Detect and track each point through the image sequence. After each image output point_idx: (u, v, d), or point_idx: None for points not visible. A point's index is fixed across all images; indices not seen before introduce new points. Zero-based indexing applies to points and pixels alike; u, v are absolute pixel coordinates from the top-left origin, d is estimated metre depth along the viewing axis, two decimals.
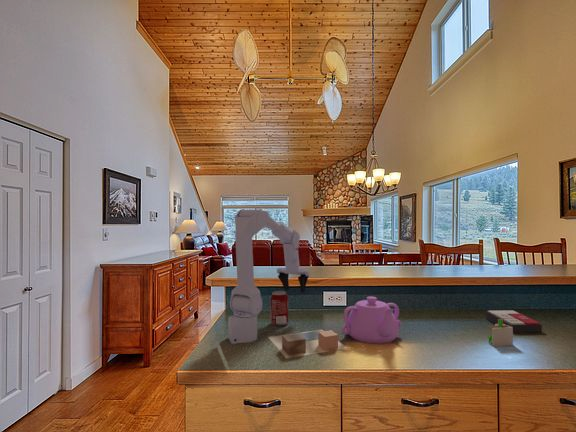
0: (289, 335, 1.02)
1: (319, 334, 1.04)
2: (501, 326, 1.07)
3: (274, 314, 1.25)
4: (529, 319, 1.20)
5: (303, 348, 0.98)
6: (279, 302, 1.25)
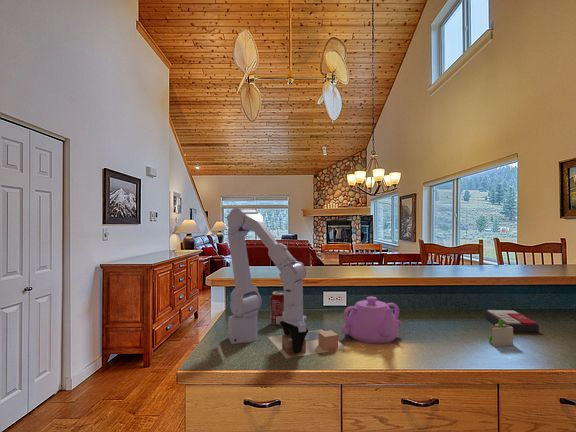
0: (289, 335, 1.02)
1: (319, 334, 1.04)
2: (501, 326, 1.07)
3: (274, 314, 1.25)
4: (527, 319, 1.20)
5: (303, 348, 0.98)
6: (278, 302, 1.25)
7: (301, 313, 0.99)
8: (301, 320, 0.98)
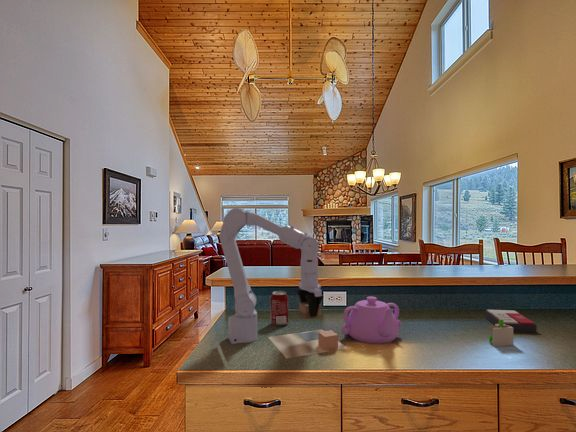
0: (305, 302, 1.12)
1: (319, 334, 1.04)
2: (502, 326, 1.07)
3: (274, 314, 1.25)
4: (525, 319, 1.20)
5: (319, 313, 1.09)
6: (278, 302, 1.25)
7: (316, 281, 1.09)
8: (316, 287, 1.08)
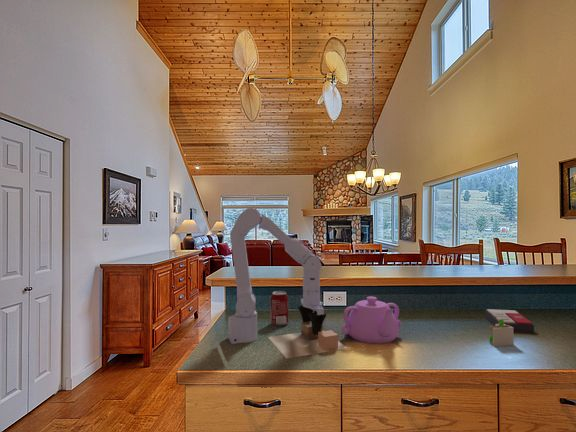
0: (307, 322, 1.13)
1: (319, 334, 1.04)
2: (502, 326, 1.07)
3: (274, 314, 1.25)
4: (523, 319, 1.21)
5: None
6: (279, 302, 1.25)
7: (318, 299, 1.11)
8: (319, 305, 1.10)
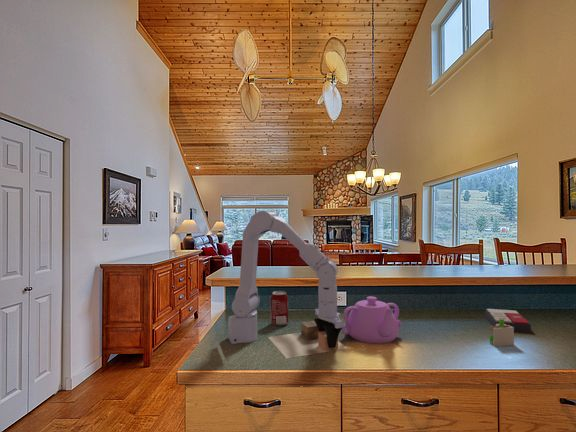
0: (307, 322, 1.13)
1: (319, 334, 1.04)
2: (502, 326, 1.07)
3: (274, 314, 1.25)
4: (521, 319, 1.21)
5: None
6: (278, 302, 1.25)
7: (336, 310, 1.02)
8: (336, 317, 1.01)
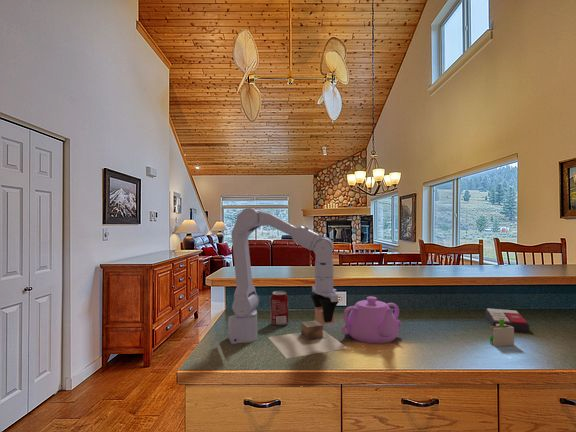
0: (307, 322, 1.13)
1: (316, 309, 1.05)
2: (502, 326, 1.07)
3: (274, 314, 1.25)
4: (520, 318, 1.21)
5: (320, 333, 1.10)
6: (279, 302, 1.25)
7: (332, 285, 1.03)
8: (332, 292, 1.03)
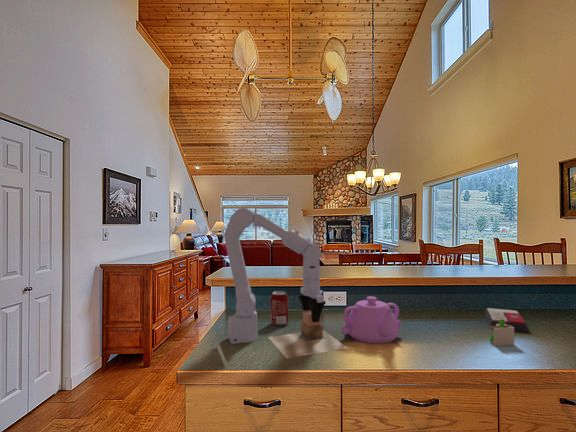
0: None
1: (303, 312, 1.13)
2: (502, 326, 1.07)
3: (274, 314, 1.25)
4: (519, 318, 1.21)
5: (321, 333, 1.10)
6: (278, 302, 1.25)
7: (318, 287, 1.11)
8: (318, 293, 1.10)
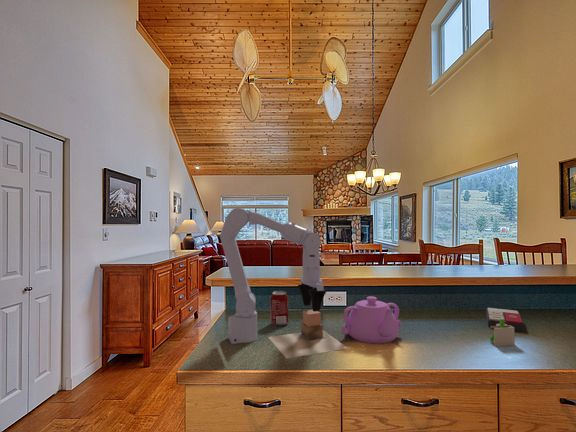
0: None
1: (303, 312, 1.13)
2: (503, 326, 1.07)
3: (274, 314, 1.25)
4: (517, 318, 1.21)
5: (321, 333, 1.10)
6: (278, 302, 1.25)
7: (318, 276, 1.11)
8: (318, 282, 1.10)
